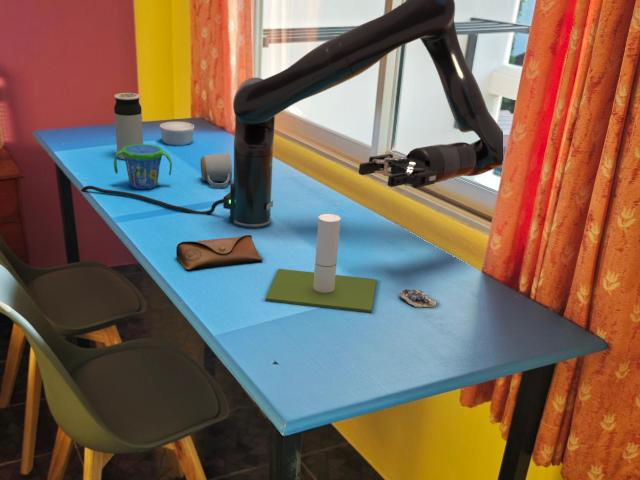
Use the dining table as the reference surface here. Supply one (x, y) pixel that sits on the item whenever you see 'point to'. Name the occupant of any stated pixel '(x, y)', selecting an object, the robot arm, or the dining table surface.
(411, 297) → the rough mineral rock
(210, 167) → the ceramic mug
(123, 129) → the travel mug
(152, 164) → the snack cup
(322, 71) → the robot arm
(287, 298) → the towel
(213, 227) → the dining table surface
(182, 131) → the ramekin
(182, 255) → the sunglasses case
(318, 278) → the tube
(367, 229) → the dining table surface
